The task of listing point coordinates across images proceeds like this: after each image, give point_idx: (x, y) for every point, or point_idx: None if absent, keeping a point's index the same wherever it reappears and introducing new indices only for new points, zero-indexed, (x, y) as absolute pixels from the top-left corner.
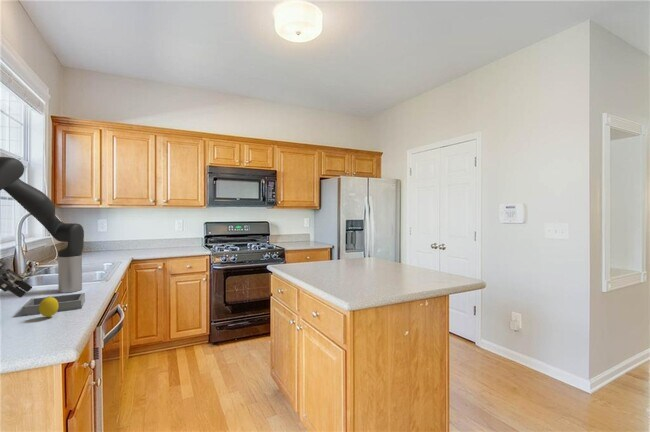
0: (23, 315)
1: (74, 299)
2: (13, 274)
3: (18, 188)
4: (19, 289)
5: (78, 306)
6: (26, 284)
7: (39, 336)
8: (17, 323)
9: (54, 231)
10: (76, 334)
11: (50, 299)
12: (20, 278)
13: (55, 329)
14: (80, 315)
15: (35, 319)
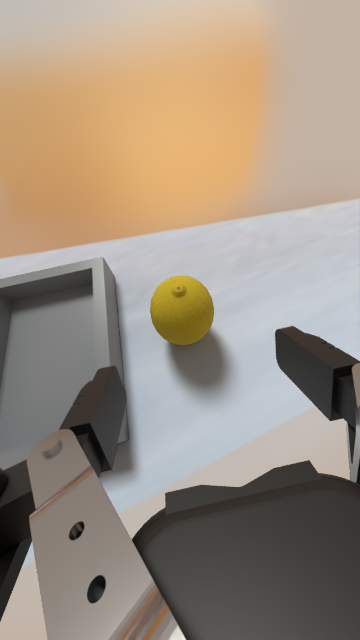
0: (128, 434)
1: (7, 317)
2: (82, 593)
3: None
4: (321, 349)
5: (111, 276)
6: (105, 395)
7: None
8: (228, 407)
9: None
10: (354, 210)
11: (194, 283)
12: (34, 472)
13: (312, 265)
14: (190, 254)
15: (194, 364)
